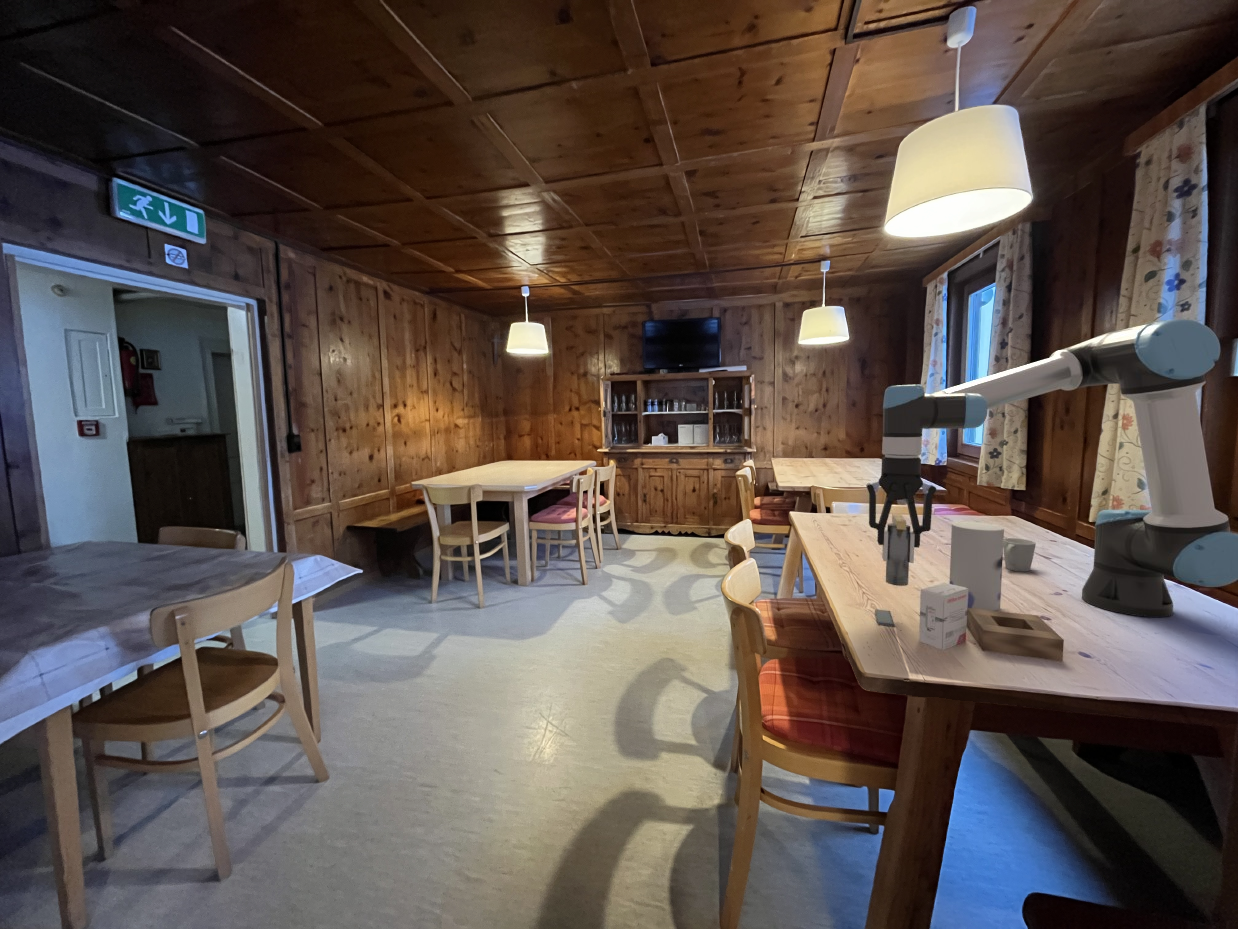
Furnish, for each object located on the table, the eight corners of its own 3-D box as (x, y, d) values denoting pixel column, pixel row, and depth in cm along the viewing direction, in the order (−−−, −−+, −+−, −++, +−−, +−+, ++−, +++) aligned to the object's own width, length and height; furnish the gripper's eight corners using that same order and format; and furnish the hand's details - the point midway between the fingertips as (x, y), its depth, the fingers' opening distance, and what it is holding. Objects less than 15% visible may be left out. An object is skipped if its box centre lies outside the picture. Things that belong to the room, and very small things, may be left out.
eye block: (1036, 639, 100) (1037, 615, 100) (1062, 666, 89) (1063, 640, 89) (966, 630, 105) (967, 607, 105) (982, 655, 94) (983, 630, 94)
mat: (913, 616, 113) (914, 613, 113) (920, 630, 106) (920, 627, 106) (874, 611, 116) (875, 609, 116) (878, 624, 109) (878, 622, 109)
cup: (1039, 570, 144) (1041, 542, 143) (1021, 575, 140) (1022, 546, 139) (1009, 564, 151) (1011, 536, 150) (991, 568, 147) (992, 540, 146)
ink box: (942, 636, 103) (944, 580, 102) (967, 645, 99) (970, 587, 98) (917, 645, 99) (919, 588, 98) (942, 655, 95) (945, 595, 94)
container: (1009, 616, 112) (1013, 530, 110) (960, 613, 114) (963, 529, 112) (986, 600, 122) (989, 521, 120) (941, 598, 124) (944, 520, 122)
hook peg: (910, 589, 106) (913, 521, 104) (887, 587, 107) (890, 520, 106) (905, 578, 113) (907, 514, 112) (883, 576, 115) (885, 513, 113)
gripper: (944, 455, 108) (939, 559, 110) (856, 454, 115) (853, 552, 117) (952, 458, 101) (947, 569, 103) (858, 456, 108) (855, 561, 110)
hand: (897, 560), depth 110 cm, fingers closed on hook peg, 4 cm apart
